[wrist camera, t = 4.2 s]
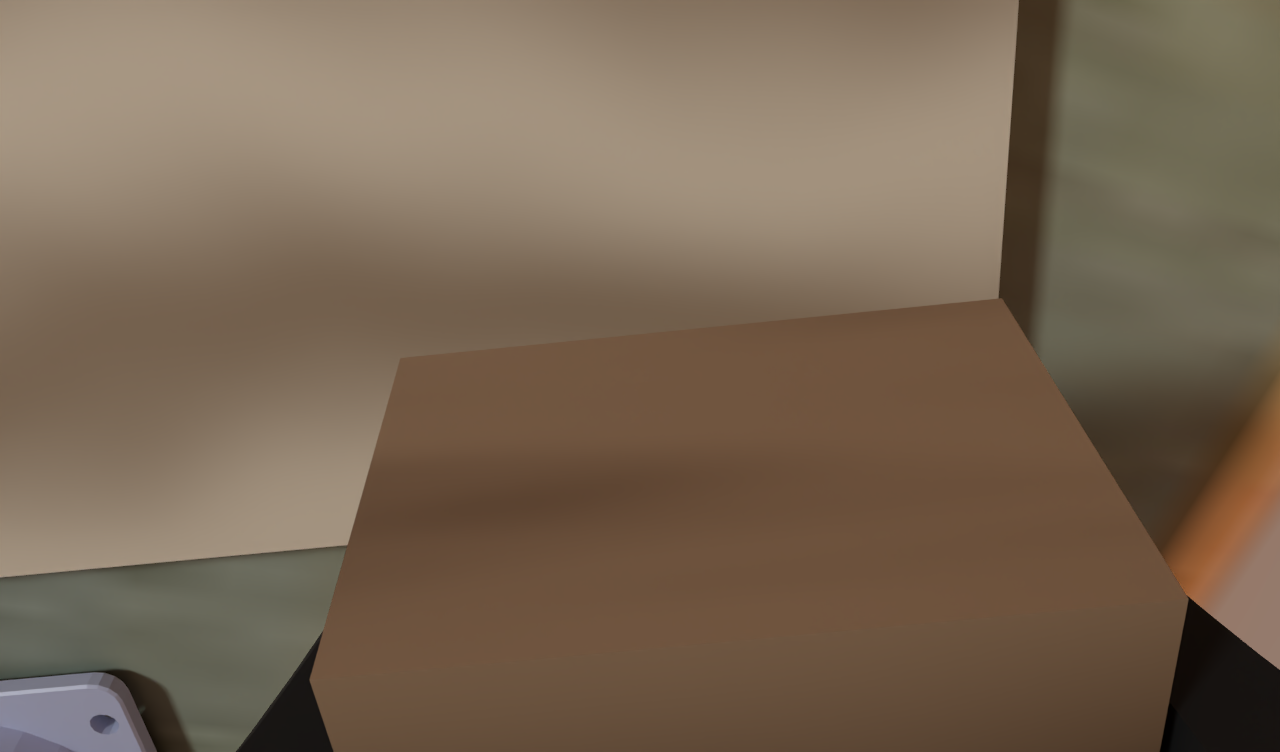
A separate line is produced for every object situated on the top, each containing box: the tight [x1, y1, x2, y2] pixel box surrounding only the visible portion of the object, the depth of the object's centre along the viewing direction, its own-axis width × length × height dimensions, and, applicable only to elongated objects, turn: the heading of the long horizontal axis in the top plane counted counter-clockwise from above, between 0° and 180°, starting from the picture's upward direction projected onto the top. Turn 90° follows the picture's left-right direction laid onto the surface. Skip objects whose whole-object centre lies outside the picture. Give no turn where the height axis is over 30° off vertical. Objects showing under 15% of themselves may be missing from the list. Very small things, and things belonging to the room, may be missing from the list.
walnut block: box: [310, 298, 1189, 752], centre depth 11 cm, size 6×6×4 cm
